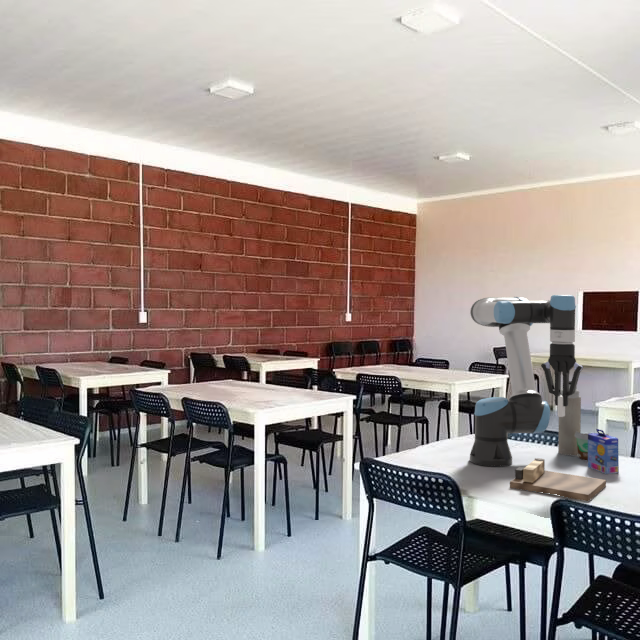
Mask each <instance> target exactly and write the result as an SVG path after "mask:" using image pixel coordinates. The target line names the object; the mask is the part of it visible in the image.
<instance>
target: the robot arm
mask: <svg viewBox="0 0 640 640" xmlns="http://www.w3.org/2000/svg"><path fill="white" fill-rule="evenodd" d="M576 307H577V305H576V297H575V296H574V295H573V294H552V295H551V296H550V300H549V299H548V300H545V299H544V300H529V299H527V298H526V297H520V296H519V297H518V296H513V297H510V296H509V297H507V296H506V297H504V296H503V297H502V296H501V297H495V296H492V297H491V296H490V297H483V298H480V299H478V300H476V301H475V302H473V304H472V305H471V308H470V313H469V314H470V316H471V319H472V321H473V322H474V323H476V324H477V325H480V326H483V327H490V328H498V330H499V334H500V335H502V336H503V337H504V338H503V339H504V343H505V350H506V358H507V366H508V371H509V372H508V373H509V379H510V385H511V393H512V394H511V395H510V396H509V399H508V398H507V397H503V396H498V397H497V396H494V397H487V398H481V399H479V400H478V401H476V403H475V406H474V413H473V414H474V442H473V445H472V447H471V451H470V453H469V461H470V463H472V464H474V465H479V466H484V467H507V466H510V465H511V466H512V464H513V455H512V452H511V449H510V446H509V443H508V434H532V435H533V434H540V433H541V434H542V433H544V432H545V431H546V430H547V428H548V426H549V425H550V424H549V423H550V418H551V409H550V404H549V403H548V401H546V400H543V398H542V394H541V393H539V392H538V391H537V387H536V382H535V374H534V369H533V364H532V363H533V362H532V357H531V352H530V343H529V337H528V332H529V331H530V330H531V326H533V324H549V341H550V342H551V343H550V344H549V356H548V360H547V361H546V362H544V363H542V364H540V366H541V368H542V369H543V370H542V371H543V372H544V377H545V381H546V385H547V390H548V393H549V394H552V395H553V396H554V406H557V418H559V417H564V416H565V406H568V397H569V395H573V394H574V393H575V389H576V386H578V381H579V377H580V373H581V372H582V370H583V369H584V366H583V365H582V364H581V365H580V364H579V363H578V362H577V359H576V358H575V355H576V354H575V353H576V352H575V348H576V345H575V344H574V343H575V341H576ZM551 368H552V369H553V373H554V381H553V376H552V371H551ZM572 369H573V370H574V372H573V374H572V378H571V385H570V389H569V381H570V373H571V370H572ZM561 380H562V381H561ZM561 382H562V383H561ZM561 387H562V389H563V395H561V390H562V389H561Z"/></svg>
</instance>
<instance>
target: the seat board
mask: <svg viewBox="0 0 640 640" xmlns="http://www.w3.org/2000/svg"><path fill="white" fill-rule="evenodd" d="M524 468H525V467H523V466H519V467H517V468H515V470H514V473H515V474H514V478H513V479H512V480H510V481H509V488H511V489H515V488H516V490H520V489H522V490H521V491H526V490H528V491H527V492H532V491H536V492H535V493H537V492H543V493H550V494H557V495H560V496H564V497H563V498H566V497H568V498H567V499H571V500H572V499H573V500H578V501H583V502H589V501H591V500H593V498H594V497H595V496H596V495H598V494H599V493H600V492H602V490H604V489H605V488H606V487H607V479H602V478H596V477H595V478H594V477H590V476H589V477H588V476H583V475H576V474H570V473H563V472H557V471H549V470H545V473H543V474H542V475H541V476H540V477H539V478H538V479H536V480H535V481H534V482H533V483H531V482H524V481H523V469H524ZM543 493H542V494H543ZM560 496H559V497H560Z"/></svg>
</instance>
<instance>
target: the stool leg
mask: <svg viewBox="0 0 640 640" xmlns="http://www.w3.org/2000/svg"><path fill="white" fill-rule="evenodd" d="M545 462H546V460H545V458H539V457H535V458H534V460H532V461H531V462H530V463H529V464H528V465H526V466H524V467H523V468H524V469H523V481H524V482H531V483H533V482H534V481H535V480H536V479H538V478H539V477H540V476H541V475H542V474H543V473H545V471H546V469H545Z"/></svg>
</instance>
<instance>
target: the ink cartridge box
mask: <svg viewBox="0 0 640 640" xmlns="http://www.w3.org/2000/svg"><path fill="white" fill-rule="evenodd" d="M595 430H596V432H595V433H593V432H590V433H591V434H588V433H587V434H588V461H587V468H588V469H591V470H593V471H597V472H600V473H601V474H605V475H609V474H610V475H613V474H618V473H620V471H619V467H620V466H619V465H620V464H619V462H620V461H619V438H618V437H615V436H611V435H609V436H607V435H606V434H607V433H605V431H604V430H602V429H598V428H595Z"/></svg>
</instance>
